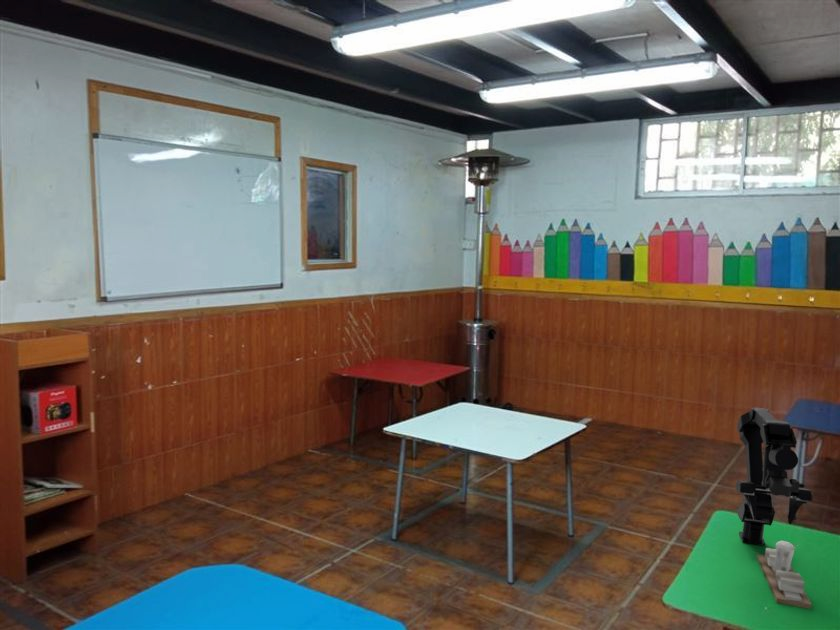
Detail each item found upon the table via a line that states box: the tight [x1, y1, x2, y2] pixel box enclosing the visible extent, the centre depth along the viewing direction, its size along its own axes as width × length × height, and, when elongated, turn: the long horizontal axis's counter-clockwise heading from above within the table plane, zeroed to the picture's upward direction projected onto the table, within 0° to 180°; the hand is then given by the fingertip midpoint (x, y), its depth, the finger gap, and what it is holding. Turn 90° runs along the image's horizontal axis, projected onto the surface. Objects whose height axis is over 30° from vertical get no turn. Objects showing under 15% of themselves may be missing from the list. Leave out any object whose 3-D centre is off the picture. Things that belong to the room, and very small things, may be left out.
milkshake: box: [775, 540, 798, 573], centre depth 183 cm, size 4×5×10 cm
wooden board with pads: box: [756, 547, 812, 609], centre depth 184 cm, size 24×8×5 cm, turn 165°
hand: (771, 521), depth 190 cm, fingers open, 9 cm apart
